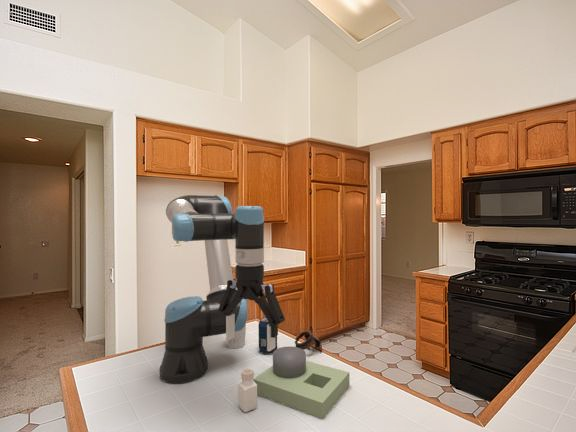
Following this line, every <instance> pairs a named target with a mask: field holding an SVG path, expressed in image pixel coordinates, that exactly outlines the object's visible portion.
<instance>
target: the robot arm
mask: <svg viewBox="0 0 576 432" xmlns="http://www.w3.org/2000/svg"><path fill="white" fill-rule="evenodd" d="M165 214H166V215H165V216H166V217H167V219H168V220H169V222H170V223H171V235H172V239H173V241H175V242H185V243H187V242H195V241H204V247H205V248H204V249H205V256H206V257H205V258H206V267H207V275H208V284H209V292H208V293H207V294H206V297H205V298H206V300H203V298H202V297H201V296H197V295H196V296H186V297H181V298H179V299H176V300H174V301H171V302H170V303H168V305H167V306H166V308H165V311H164V313H165V315H164V318H163V319H164V320H163V322H164V326H165V327H164V329H165V330H164V331H165V334H164V337H165V340H164V348H165V349H164V353H163V357H162V361H161V364H160V366H159V379H160V380H161V381H162V382H164V383H167V384H185V383H189V382H193V381H196V380H197V379H200V378H202V377H204V376H205V375H206V374H207V373H208V371H209V360H208V357H207V354H206V351H205V349H204V346H203V344H204V343H203V339H204V338H207V337H213V336H218V335H223V334H225V339H226V341H227V340H230V339H232V338H234V337H235V332H236V331H240V330H242V329H243V328H244V326H245V324H246V325H247V319H248V301H247V300H249V301H253V302H254V303H255V304H257V306H258V307H259V309H260V310H261V311H262V313H263V316H264V317H266V318H267V320H268V322H269V323H270V324H268V325H267V351H271V350H273V349H274V348H275V337H276V336H277V337H278V335H279V331H278V328H279V325H280V324H281V323H283V322H285V319H286V318H285V316H284V313H283V310H282V308H281V306H280V303H279V300H278V298H277V295H276V293H275V286H274V284H273V283H269V284H264V278H265V265H264V264H263V263H265V245H264V242H265V236H264V234H265V231H264V228H265V217H264V209H263V207H262V206H260V205H238V206H237V207H235V211H234V212H233V209H232V204H231V202H230V199H228V197H226V196H224V195H215V194H214V195H197V194H196V195H195V194H194V195H193V194H189V195H188V194H187V195H182V196H178V197H176V198H174V199H172V200H171V201H169V203H168V204H167V206H166V209H165ZM229 240H235V244H234V245H235V263H236V265H235V267H234V268H235V278H234V275H233V269H232V262H231V256H230V249H229V242H228V241H229Z"/></svg>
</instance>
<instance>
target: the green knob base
mask: <svg viewBox="0 0 576 432" xmlns="http://www.w3.org/2000/svg"><path fill="white" fill-rule="evenodd" d="M253 381H254V382H255V383H256V384H257V396H260V397H262V398H265V399H268V400H270V401H273V402H276V403H279V404H282V405H284V406H287V407H289V408H292V409H294V410H298V411H300V412H303V413H306V414H308V415H310V416H314V417H317V418H319V419H322V420H324V418H325V417H326V415H328V413H329V412H330V410H331V409H332V408H333V407H334V406H335V404H336V403H337V402H338V401H339V399H340V398H341V397H342V396H343V395H344V393H345V392H346V391H347V390H348V388H349V387H350V372H349V371H346V370H341V369H338V368H334V367H331V366H326V365H323V364H320V363H316V362H313V361H309V360H307V354H306V351H305V350H303V349H301V348H298V347H296V346H281V347H277V349H276V350H275V351H274V352H273V354H272V365H271V366H269V368H267V369H265V370H264V371H262V372H261V373H260V374H258V375H257V376H254V379H253Z"/></svg>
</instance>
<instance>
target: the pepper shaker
mask: <svg viewBox="0 0 576 432" xmlns="http://www.w3.org/2000/svg"><path fill="white" fill-rule="evenodd" d="M240 373H241V375H240V376H241V382H239V383H238V384H237V387H238V388H237V390H238V391H237V394H238V395H237V397H238V399H237V401H238V403H237V404H238V407H239V408H240V409H241V410H242V411H243V412H244V413H248V412H249V411H252V410H255V409H256V408H257V407H258V395H257V384H256V383H255V382H254V381H253V379H254V378H255V376H254V375H255V374H254V370H253V369H251V368H245V369H242V370H241V372H240Z"/></svg>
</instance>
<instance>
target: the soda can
mask: <svg viewBox="0 0 576 432" xmlns="http://www.w3.org/2000/svg"><path fill="white" fill-rule="evenodd" d="M268 324H270V323H269V322H268V320H267V318H266V317H265V316H263V317H261V318H260V319H259V322H258V350H259V351H260V353H261V354H264V355H271V354H272V355H273V352H274V351H275V350H276V349H278V335H277V336H276V337H275V348H274V349H273V350H271V351H267V325H268Z"/></svg>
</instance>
